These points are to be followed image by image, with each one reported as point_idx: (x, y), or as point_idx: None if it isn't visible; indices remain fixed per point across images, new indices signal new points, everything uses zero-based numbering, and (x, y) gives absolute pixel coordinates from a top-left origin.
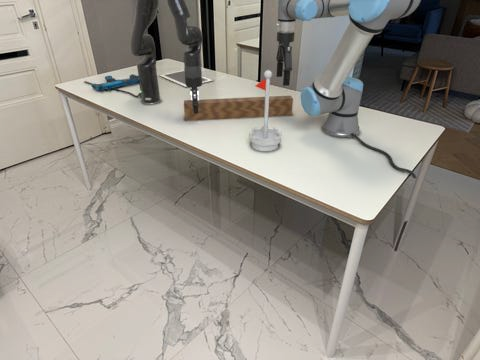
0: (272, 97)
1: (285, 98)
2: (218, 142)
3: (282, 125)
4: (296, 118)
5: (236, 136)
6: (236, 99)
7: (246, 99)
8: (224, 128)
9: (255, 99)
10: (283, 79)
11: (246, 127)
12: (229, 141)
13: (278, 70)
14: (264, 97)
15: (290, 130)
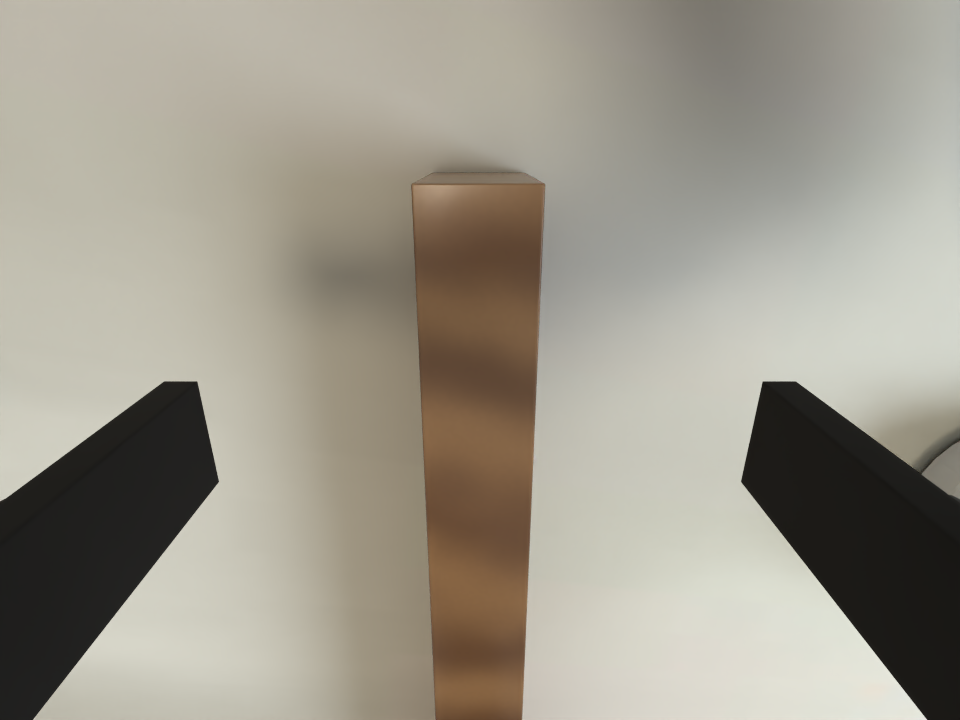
0: (463, 426)
1: (520, 285)
2: (836, 703)
3: (728, 315)
4: (611, 145)
5: (797, 623)
6: (475, 717)
7: (487, 652)
8: (661, 668)
9: (501, 587)
10: (812, 558)
11: (684, 559)
12: (847, 659)
13: (139, 546)
14: (453, 503)
15: (846, 273)
